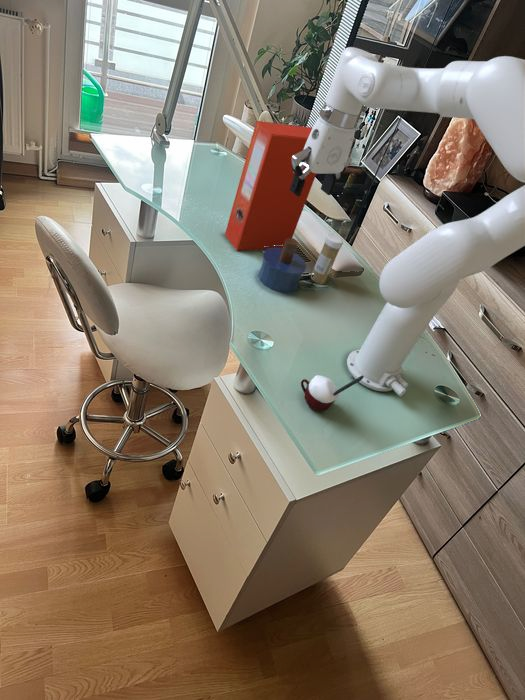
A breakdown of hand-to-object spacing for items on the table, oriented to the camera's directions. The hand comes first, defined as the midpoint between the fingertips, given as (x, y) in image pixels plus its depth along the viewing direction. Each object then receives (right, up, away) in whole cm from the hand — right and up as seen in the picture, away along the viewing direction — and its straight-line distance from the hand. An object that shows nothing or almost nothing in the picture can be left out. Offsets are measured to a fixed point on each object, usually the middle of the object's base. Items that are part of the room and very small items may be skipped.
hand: (310, 192), depth 115 cm
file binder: (-13, -5, +29) cm, 32 cm away
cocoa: (0, -47, -14) cm, 49 cm away
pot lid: (-5, -14, +12) cm, 19 cm away
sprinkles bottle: (+4, -17, +23) cm, 29 cm away
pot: (-7, -18, +16) cm, 25 cm away
